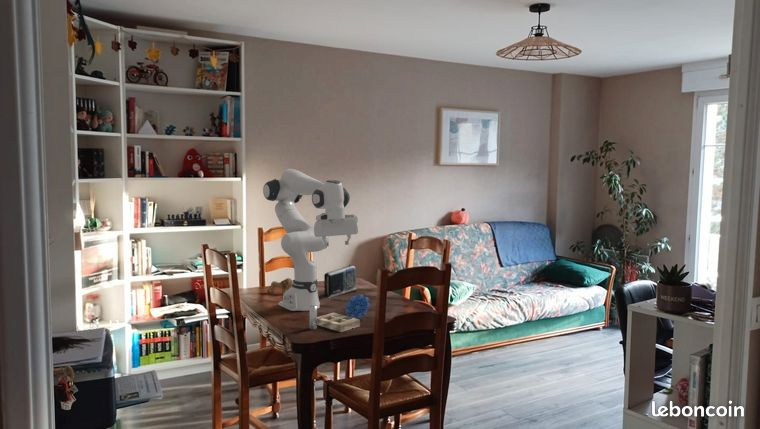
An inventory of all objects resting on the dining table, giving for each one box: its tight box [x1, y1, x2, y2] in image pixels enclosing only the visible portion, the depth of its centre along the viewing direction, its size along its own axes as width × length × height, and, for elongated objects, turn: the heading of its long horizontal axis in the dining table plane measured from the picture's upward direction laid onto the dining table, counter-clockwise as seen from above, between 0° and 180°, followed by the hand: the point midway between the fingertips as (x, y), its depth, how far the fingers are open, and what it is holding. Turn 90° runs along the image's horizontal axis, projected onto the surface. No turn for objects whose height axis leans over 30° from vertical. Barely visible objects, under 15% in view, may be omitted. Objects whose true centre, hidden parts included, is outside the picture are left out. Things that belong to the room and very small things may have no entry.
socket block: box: [317, 312, 361, 333], centre depth 254 cm, size 17×12×3 cm
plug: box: [309, 305, 318, 330], centre depth 248 cm, size 3×3×10 cm
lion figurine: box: [266, 277, 293, 295], centre depth 311 cm, size 15×5×9 cm, turn 80°
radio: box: [323, 264, 358, 299], centre depth 313 cm, size 23×9×15 cm, turn 133°
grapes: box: [345, 293, 371, 320], centre depth 264 cm, size 12×7×12 cm, turn 97°
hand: (336, 245), depth 257 cm, fingers open, 8 cm apart
